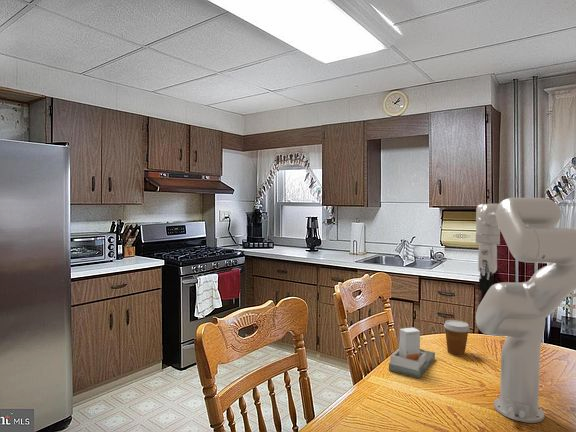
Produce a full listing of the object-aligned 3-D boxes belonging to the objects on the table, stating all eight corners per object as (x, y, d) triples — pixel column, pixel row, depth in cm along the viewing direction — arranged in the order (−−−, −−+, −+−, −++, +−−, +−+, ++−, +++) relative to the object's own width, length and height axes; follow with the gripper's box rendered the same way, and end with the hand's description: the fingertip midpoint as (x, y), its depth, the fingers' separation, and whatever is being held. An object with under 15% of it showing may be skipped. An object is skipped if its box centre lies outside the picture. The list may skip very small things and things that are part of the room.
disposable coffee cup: (438, 350, 159) (438, 321, 159) (455, 347, 163) (455, 318, 163) (457, 359, 151) (457, 328, 150) (474, 355, 155) (475, 325, 154)
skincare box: (405, 365, 139) (405, 332, 138) (398, 361, 143) (399, 328, 142) (420, 363, 140) (420, 330, 140) (413, 359, 145) (413, 327, 144)
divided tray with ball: (419, 378, 135) (420, 362, 134) (388, 370, 141) (389, 355, 140) (434, 358, 151) (435, 344, 151) (406, 352, 157) (406, 339, 157)
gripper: (496, 242, 127) (495, 294, 128) (502, 238, 142) (501, 285, 143) (471, 240, 132) (470, 291, 132) (479, 236, 146) (478, 282, 147)
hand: (486, 288), depth 137 cm, fingers open, 9 cm apart
